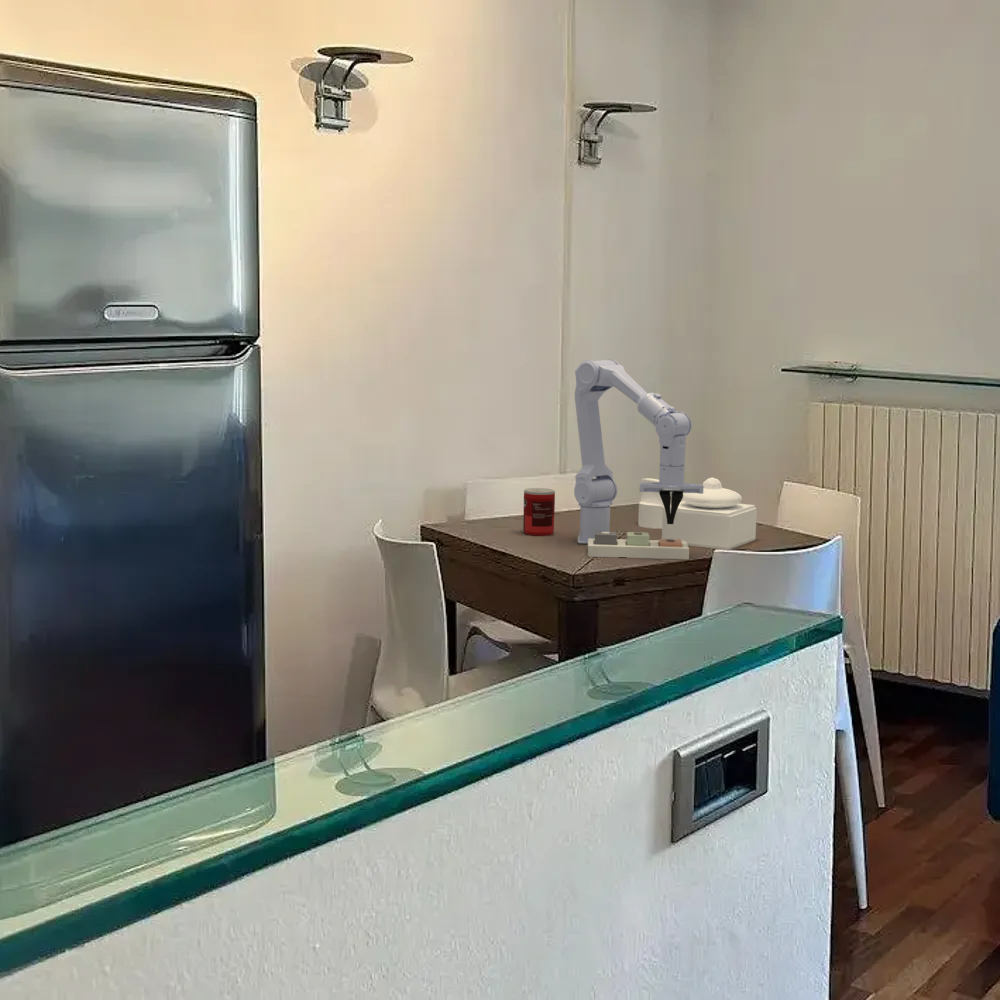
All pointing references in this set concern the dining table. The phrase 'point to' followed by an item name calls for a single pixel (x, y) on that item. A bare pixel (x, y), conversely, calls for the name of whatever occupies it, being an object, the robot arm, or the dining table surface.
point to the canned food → (539, 511)
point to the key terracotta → (670, 542)
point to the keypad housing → (638, 550)
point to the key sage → (638, 538)
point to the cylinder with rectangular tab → (650, 507)
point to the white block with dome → (712, 518)
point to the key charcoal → (605, 538)
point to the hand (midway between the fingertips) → (670, 523)
